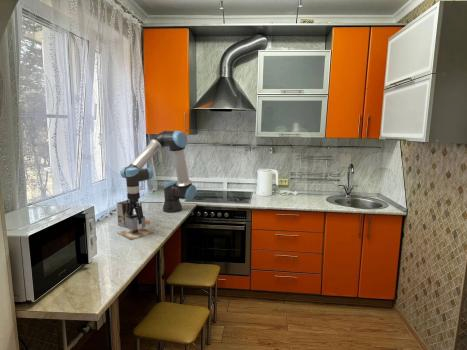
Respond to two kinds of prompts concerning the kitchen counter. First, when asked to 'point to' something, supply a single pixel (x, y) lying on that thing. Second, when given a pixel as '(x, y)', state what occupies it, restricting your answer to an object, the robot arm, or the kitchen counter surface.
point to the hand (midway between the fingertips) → (135, 226)
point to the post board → (135, 233)
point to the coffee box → (122, 212)
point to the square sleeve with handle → (134, 222)
